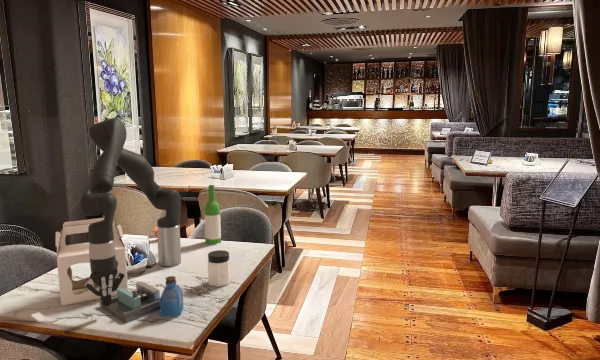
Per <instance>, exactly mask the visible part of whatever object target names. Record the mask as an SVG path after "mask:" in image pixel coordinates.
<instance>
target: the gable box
mask: <svg viewBox="0 0 600 360" xmlns="http://www.w3.org/2000/svg"><path fill="white" fill-rule="evenodd" d="M102 220H104V217H98V218H89V219H80V220H79V219H78V220H70V221H65V222H63V224H62V229H61V230H60V231H55V248H56V265H57V275H58V277H57V278H58V285H59V286H58V287H59V295H60V296H59V297H60V305H61V306H67V305H71V304H72V305H73V304H78V303H83V302H90V301H92V300H93V301H94V300H99V299H100V300H101V297H100V296H97V295H95V294H94V293H92V292H91V291H90V290H89V289H87V288H86V287H85V286H84V285H83V284H84V283H85V282H88V281H89V279H90V276H87V277H86V278H83V279H81V280H74V279H73V270H72V268H71V266H73V265H78V264H87V263H88V264H90V256H89V241H86V242H78V243H70V244H66V237H67V236H69V235H75V234H82V233H83V234H85V233H88V227H89V225H90V224H92V223H95V222H99V221H102ZM123 239H124V233H123V227H122V223H120V224H119V223H118V224H117V223H115V220H114V219H113V241H114V245H115V256H116V269H117V270H118V272H120V273H123V274H124V275H125V276H124V278H123V279H122V281H121V283H120V285H119V286H118V288H117V289H119V288H124V289H126V290H128V291H129V285H128V272H127V271H128V270H127V268H128V267H127V259H126V258H127V256H126V247H125V244H124V242H123ZM114 279H115V278H114ZM113 281H114V280H113ZM112 283H113V282H112ZM93 284H94V286H93V287H94V288H95V289H96V290H98V291H99V288H98V285H97V284H95V283H94V282H93ZM116 296H117V290H116V291H113V292H112V293H111V297H116Z"/></svg>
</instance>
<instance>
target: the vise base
mask: <svg viewBox="0 0 600 360" xmlns="http://www.w3.org/2000/svg"><path fill="white" fill-rule="evenodd" d="M135 286H136V289H135V290H137V293H141V294H146V293H148V294H149V295H146V296H145V298H144V299H141V307H139V308H136V309H132V308H130V307H129V306H127V305H125V304H124V303H122V302H120V301H118V297H117V295H116V296H112V297H111V303H110V305H109V306H106V307H105V306H103V305H102V304H101V301H99V307H100V308H102V309H103V310H105V311H106V312H108V313H110V314H111V315H113V316H114V317H115V318H118V319H119V320H120V321H122V322H124V323H125V324H127V323H129V322H133V321H135V320H137V319H141V318H143V317H145V316H147V315H148V316H149V315H150V314H153V313H156V312H158V311H161V310H160V298H161V296H160V295H161V293H160V289H157V288H155V287H153V286H152V285H149V284H147V283H145V282H143V281H139V282H136V283H135ZM133 291H134V290H131V291H130V292H132V293H133Z"/></svg>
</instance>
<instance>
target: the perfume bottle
mask: <svg viewBox="0 0 600 360" xmlns="http://www.w3.org/2000/svg"><path fill="white" fill-rule="evenodd" d="M176 279H177V278H176V276H173V275H170V276H167V277H165V280H166V281H165V287H164V289H163V291H162V293H161V294H160V295H161V296H160V310H159V311H160V317H161V318H162V317H181V315H182V313H183V310H184V292H183V289H182V287H181V286H180V285H179V284H177V280H176Z"/></svg>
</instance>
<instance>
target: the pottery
mask: <svg viewBox="0 0 600 360" xmlns="http://www.w3.org/2000/svg"><path fill="white" fill-rule="evenodd" d="M153 231H154V238H158V226H157V225H155V226H154V229H153Z"/></svg>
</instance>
